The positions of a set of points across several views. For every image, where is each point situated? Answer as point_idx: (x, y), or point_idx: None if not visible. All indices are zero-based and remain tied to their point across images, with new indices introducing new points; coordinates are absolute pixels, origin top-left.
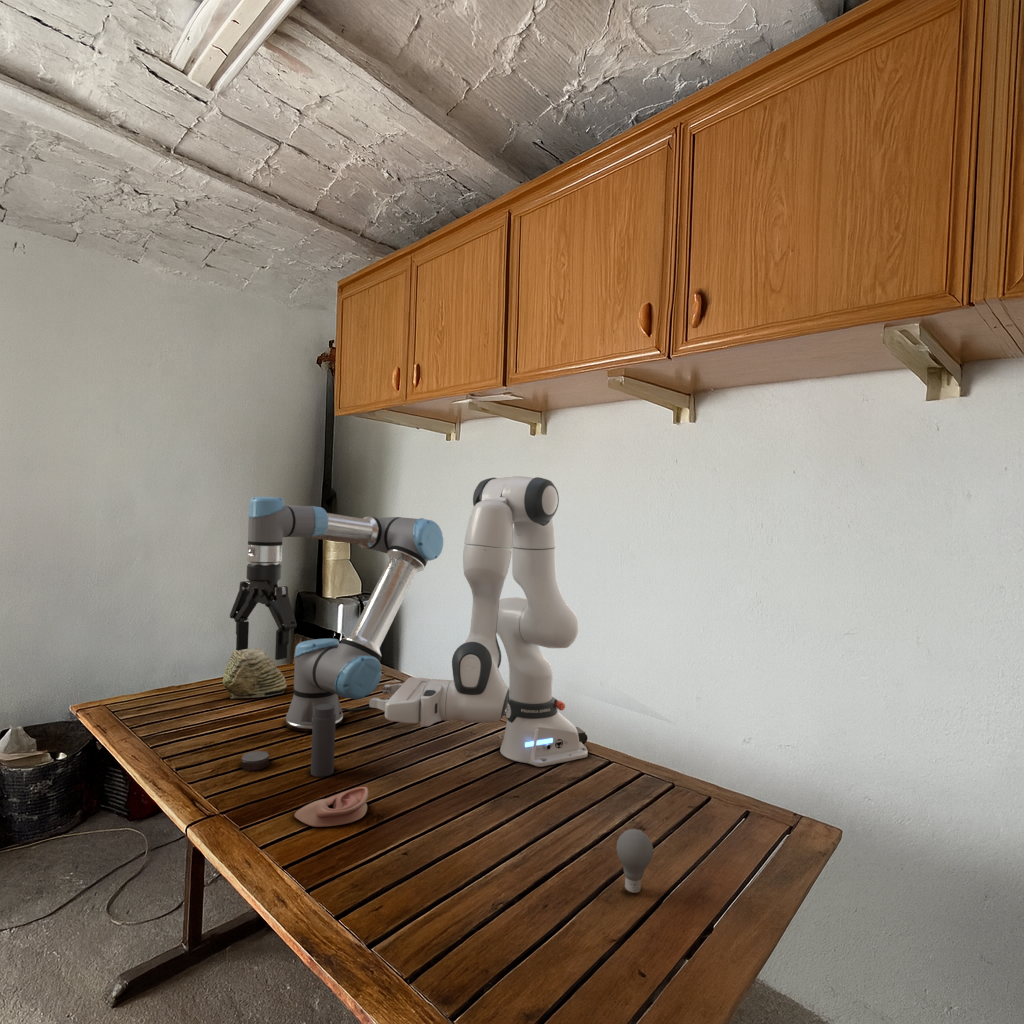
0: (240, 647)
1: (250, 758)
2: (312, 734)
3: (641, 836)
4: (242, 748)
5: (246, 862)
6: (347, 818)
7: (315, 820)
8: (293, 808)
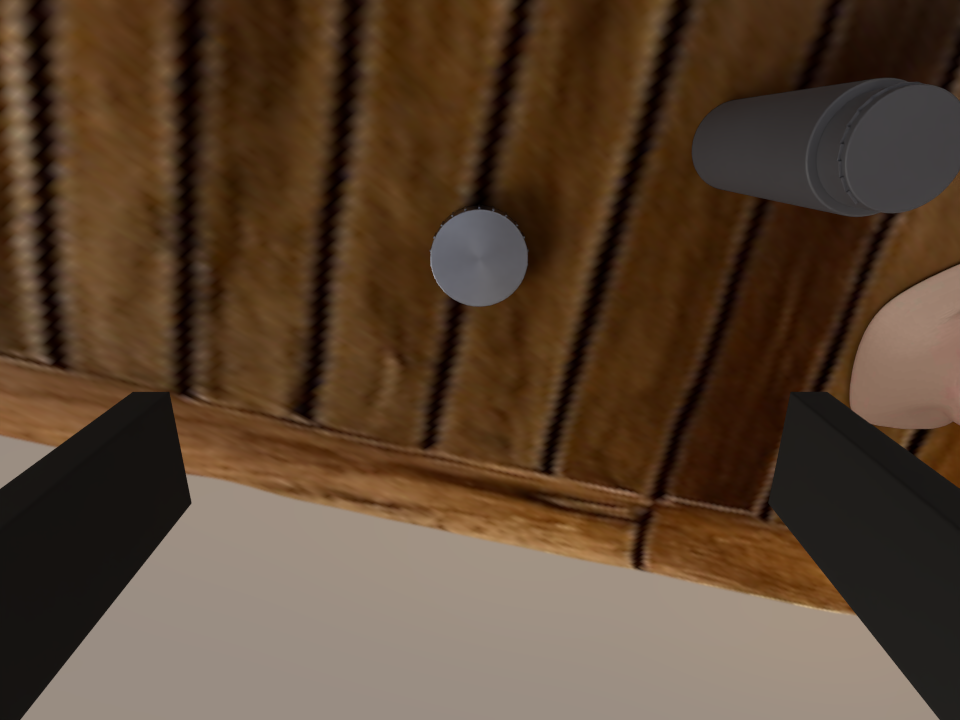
0: (173, 497)
1: (484, 285)
2: (777, 197)
3: None
4: (301, 174)
5: None
6: None
7: (947, 421)
8: (816, 382)
